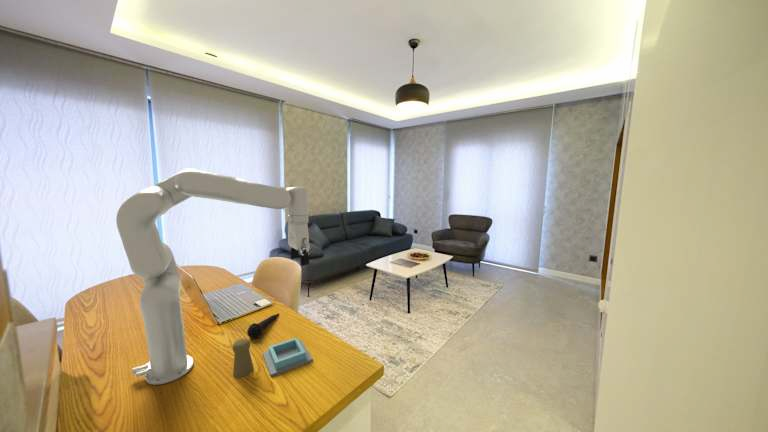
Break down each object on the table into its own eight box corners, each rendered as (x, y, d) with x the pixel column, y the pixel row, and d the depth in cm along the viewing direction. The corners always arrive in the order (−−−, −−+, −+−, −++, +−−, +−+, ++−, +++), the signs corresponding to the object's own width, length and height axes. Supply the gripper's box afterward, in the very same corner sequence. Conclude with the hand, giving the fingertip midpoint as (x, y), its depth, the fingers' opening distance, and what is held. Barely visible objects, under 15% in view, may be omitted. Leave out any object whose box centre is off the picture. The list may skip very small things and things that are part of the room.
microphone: (274, 321, 128) (246, 342, 108) (271, 309, 128) (242, 328, 109) (285, 318, 127) (258, 339, 108) (282, 306, 127) (254, 325, 108)
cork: (228, 374, 91) (226, 344, 89) (244, 362, 96) (242, 333, 94) (242, 380, 88) (240, 349, 87) (257, 367, 94) (255, 338, 92)
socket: (270, 376, 90) (270, 367, 89) (262, 354, 101) (262, 346, 100) (312, 360, 98) (312, 352, 97) (301, 341, 108) (300, 334, 108)
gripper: (280, 216, 111) (282, 257, 114) (297, 223, 98) (299, 269, 101) (298, 214, 116) (299, 254, 119) (317, 221, 103) (318, 265, 106)
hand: (299, 261), depth 110 cm, fingers open, 9 cm apart
